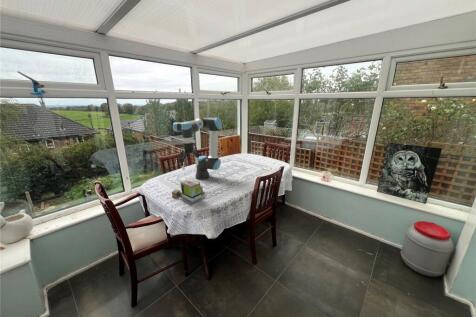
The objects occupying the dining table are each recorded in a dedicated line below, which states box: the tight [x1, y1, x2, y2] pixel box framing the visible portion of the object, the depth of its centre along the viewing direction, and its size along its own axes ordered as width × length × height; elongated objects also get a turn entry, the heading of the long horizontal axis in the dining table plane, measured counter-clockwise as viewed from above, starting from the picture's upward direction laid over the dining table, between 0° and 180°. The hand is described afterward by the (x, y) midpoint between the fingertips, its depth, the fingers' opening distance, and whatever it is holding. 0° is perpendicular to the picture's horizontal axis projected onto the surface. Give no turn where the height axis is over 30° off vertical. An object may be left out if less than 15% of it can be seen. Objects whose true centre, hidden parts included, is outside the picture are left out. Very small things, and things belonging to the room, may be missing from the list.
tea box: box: [180, 178, 202, 202], centre depth 159 cm, size 15×10×15 cm
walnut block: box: [171, 189, 181, 199], centre depth 164 cm, size 5×5×5 cm
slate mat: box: [180, 194, 206, 206], centre depth 161 cm, size 16×14×1 cm
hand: (190, 167), depth 154 cm, fingers open, 13 cm apart
